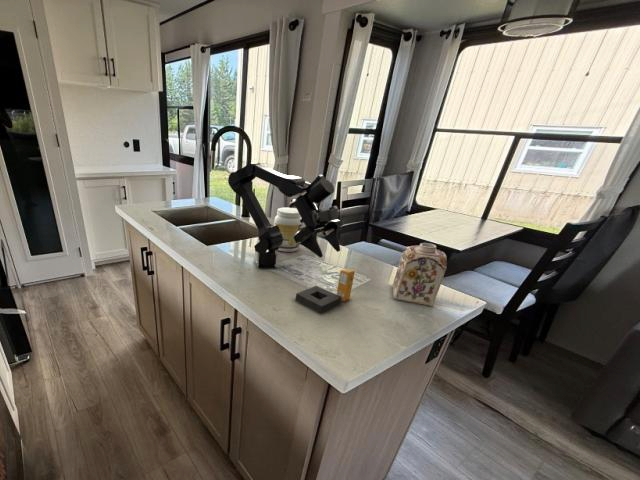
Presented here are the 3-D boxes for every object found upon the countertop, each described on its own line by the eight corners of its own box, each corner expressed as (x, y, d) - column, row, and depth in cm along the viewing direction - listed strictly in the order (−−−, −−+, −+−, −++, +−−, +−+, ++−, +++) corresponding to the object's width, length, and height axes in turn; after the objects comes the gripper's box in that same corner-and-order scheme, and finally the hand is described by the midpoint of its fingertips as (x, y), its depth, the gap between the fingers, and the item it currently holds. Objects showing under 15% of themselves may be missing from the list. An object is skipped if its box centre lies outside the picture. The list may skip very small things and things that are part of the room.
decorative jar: (432, 307, 103) (453, 253, 95) (393, 299, 107) (409, 247, 98) (427, 291, 113) (445, 241, 105) (392, 285, 117) (406, 236, 108)
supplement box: (340, 295, 108) (347, 267, 103) (349, 299, 106) (356, 271, 101) (334, 297, 106) (340, 269, 101) (343, 302, 104) (349, 273, 99)
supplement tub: (300, 253, 141) (306, 214, 133) (272, 252, 141) (276, 212, 133) (296, 244, 152) (301, 207, 144) (270, 242, 152) (274, 206, 144)
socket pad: (295, 300, 103) (296, 293, 102) (315, 292, 109) (316, 285, 108) (320, 313, 97) (321, 306, 96) (340, 304, 103) (341, 297, 102)
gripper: (306, 200, 95) (330, 247, 93) (343, 194, 105) (366, 236, 103) (283, 221, 104) (305, 264, 102) (319, 213, 114) (340, 252, 112)
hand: (330, 254), depth 105 cm, fingers open, 9 cm apart
